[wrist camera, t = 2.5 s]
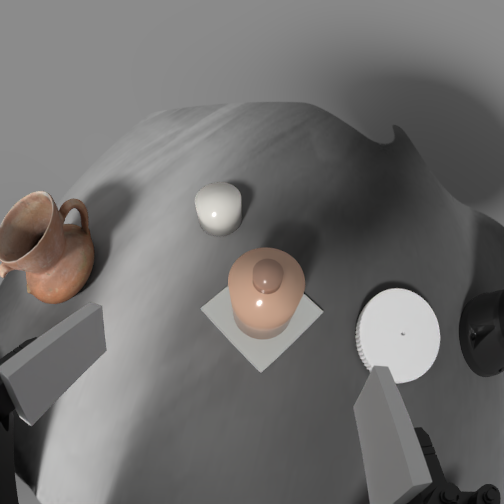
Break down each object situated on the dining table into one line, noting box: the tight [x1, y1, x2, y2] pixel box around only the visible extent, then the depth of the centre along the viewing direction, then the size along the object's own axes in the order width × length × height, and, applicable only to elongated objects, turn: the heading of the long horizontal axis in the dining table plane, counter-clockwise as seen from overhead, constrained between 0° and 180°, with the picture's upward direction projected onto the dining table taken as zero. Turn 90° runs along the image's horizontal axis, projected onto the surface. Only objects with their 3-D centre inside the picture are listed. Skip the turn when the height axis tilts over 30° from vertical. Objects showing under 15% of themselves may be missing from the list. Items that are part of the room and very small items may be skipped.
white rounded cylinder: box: [195, 182, 242, 236], centre depth 44 cm, size 7×7×5 cm
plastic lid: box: [355, 288, 440, 383], centre depth 35 cm, size 14×14×2 cm
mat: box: [201, 286, 323, 373], centre depth 38 cm, size 12×12×1 cm
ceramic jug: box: [0, 191, 94, 304], centre depth 35 cm, size 18×14×14 cm
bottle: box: [228, 248, 305, 339], centre depth 33 cm, size 8×8×12 cm
